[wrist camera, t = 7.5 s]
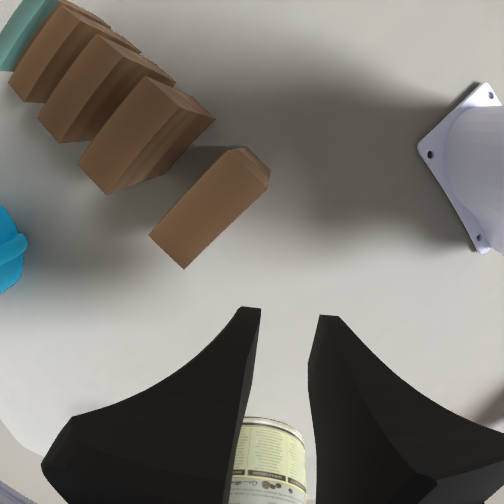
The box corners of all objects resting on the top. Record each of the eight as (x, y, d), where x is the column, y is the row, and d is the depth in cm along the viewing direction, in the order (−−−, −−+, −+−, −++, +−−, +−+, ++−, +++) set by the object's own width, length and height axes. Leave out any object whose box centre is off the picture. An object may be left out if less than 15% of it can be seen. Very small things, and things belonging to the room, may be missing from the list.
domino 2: (141, 52, 15) (80, 20, 9) (95, 106, 17) (24, 102, 10) (123, 37, 15) (60, 5, 9) (79, 90, 16) (8, 82, 10)
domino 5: (270, 171, 18) (266, 189, 11) (215, 223, 19) (183, 269, 12) (246, 146, 17) (227, 150, 11) (192, 200, 19) (148, 235, 12)
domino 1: (111, 27, 15) (48, -4, 8) (69, 80, 16) (-2, 70, 10) (96, 15, 14) (34, -15, 8) (56, 66, 16) (-13, 55, 9)
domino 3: (176, 82, 16) (123, 56, 10) (127, 138, 17) (59, 143, 11) (155, 63, 16) (96, 33, 9) (108, 119, 17) (37, 117, 11)
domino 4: (215, 118, 17) (179, 107, 10) (163, 174, 18) (106, 195, 12) (192, 96, 16) (145, 75, 10) (141, 152, 18) (77, 163, 11)
